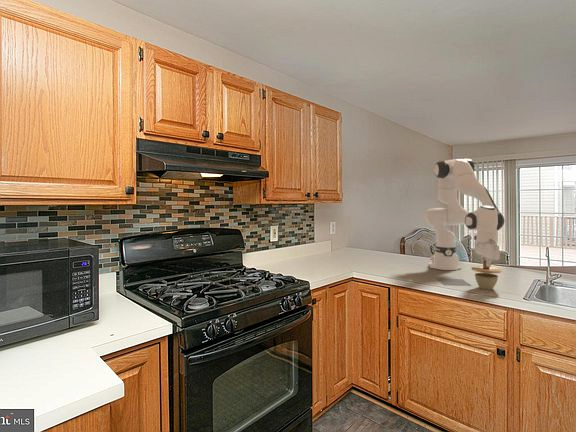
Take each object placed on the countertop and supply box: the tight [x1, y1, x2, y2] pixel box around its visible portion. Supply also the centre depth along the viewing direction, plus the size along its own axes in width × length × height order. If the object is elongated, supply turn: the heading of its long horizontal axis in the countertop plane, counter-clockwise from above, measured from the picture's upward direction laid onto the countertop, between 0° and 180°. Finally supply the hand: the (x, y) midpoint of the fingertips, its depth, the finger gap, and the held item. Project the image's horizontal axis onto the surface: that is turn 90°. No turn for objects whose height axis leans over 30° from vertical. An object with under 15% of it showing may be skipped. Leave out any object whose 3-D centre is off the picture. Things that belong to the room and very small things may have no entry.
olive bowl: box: [474, 272, 499, 291], centre depth 171 cm, size 10×10×7 cm
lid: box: [471, 259, 503, 274], centre depth 171 cm, size 13×13×5 cm
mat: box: [436, 278, 473, 287], centre depth 184 cm, size 14×14×1 cm
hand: (486, 265), depth 171 cm, fingers closed on lid, 3 cm apart
